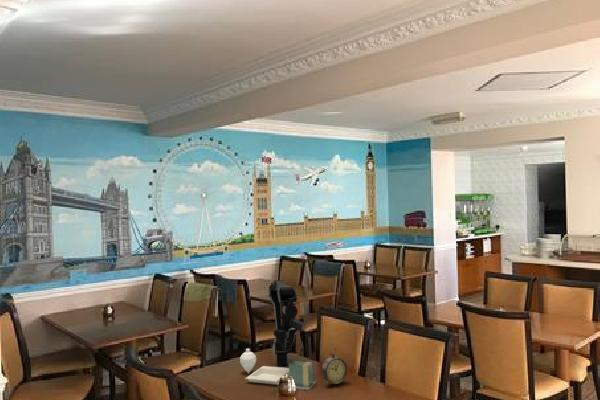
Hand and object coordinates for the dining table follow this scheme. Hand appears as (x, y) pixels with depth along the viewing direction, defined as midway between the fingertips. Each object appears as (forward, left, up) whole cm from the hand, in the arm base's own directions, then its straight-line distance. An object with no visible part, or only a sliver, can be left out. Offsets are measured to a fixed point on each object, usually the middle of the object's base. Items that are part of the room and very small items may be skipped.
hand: (288, 347), depth 231 cm
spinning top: (+4, -19, -13) cm, 23 cm away
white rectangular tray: (+8, -6, -13) cm, 17 cm away
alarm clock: (+6, +24, -13) cm, 28 cm away
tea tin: (+11, +10, -12) cm, 20 cm away
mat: (+11, +10, -13) cm, 20 cm away
